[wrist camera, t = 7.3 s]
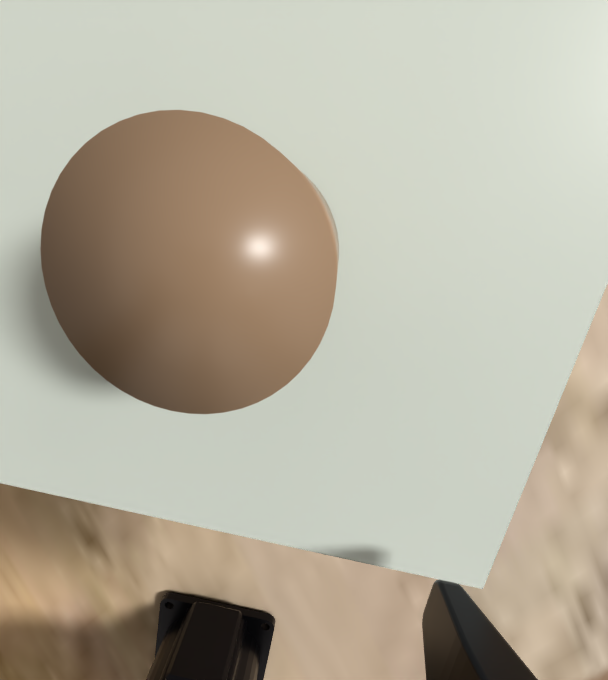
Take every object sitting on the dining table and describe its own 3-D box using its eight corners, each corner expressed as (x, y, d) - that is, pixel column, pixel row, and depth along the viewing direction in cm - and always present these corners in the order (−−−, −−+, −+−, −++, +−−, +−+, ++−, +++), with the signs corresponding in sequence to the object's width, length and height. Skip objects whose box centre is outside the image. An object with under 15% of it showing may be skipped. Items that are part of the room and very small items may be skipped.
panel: (474, 566, 10) (547, 765, 6) (-35, 455, 10) (-233, 584, 7) (734, -98, 6) (1268, -520, 3) (-82, -235, 6) (-592, -766, 3)
